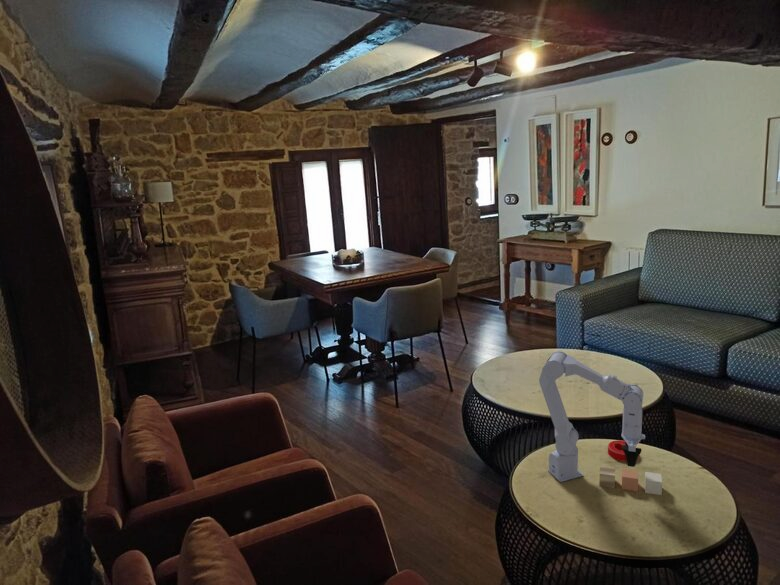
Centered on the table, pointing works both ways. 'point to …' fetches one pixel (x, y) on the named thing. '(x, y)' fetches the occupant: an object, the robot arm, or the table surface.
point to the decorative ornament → (616, 450)
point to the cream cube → (653, 483)
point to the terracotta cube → (630, 479)
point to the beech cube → (607, 476)
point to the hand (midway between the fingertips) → (630, 459)
